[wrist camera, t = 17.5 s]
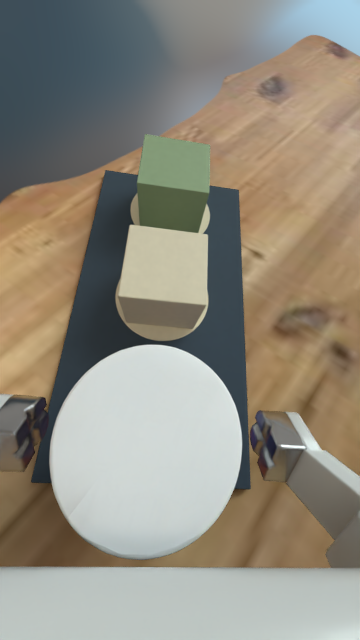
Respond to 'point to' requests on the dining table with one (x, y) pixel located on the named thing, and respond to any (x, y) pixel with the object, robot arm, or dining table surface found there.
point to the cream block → (164, 277)
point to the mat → (116, 334)
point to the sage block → (173, 183)
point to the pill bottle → (145, 452)
